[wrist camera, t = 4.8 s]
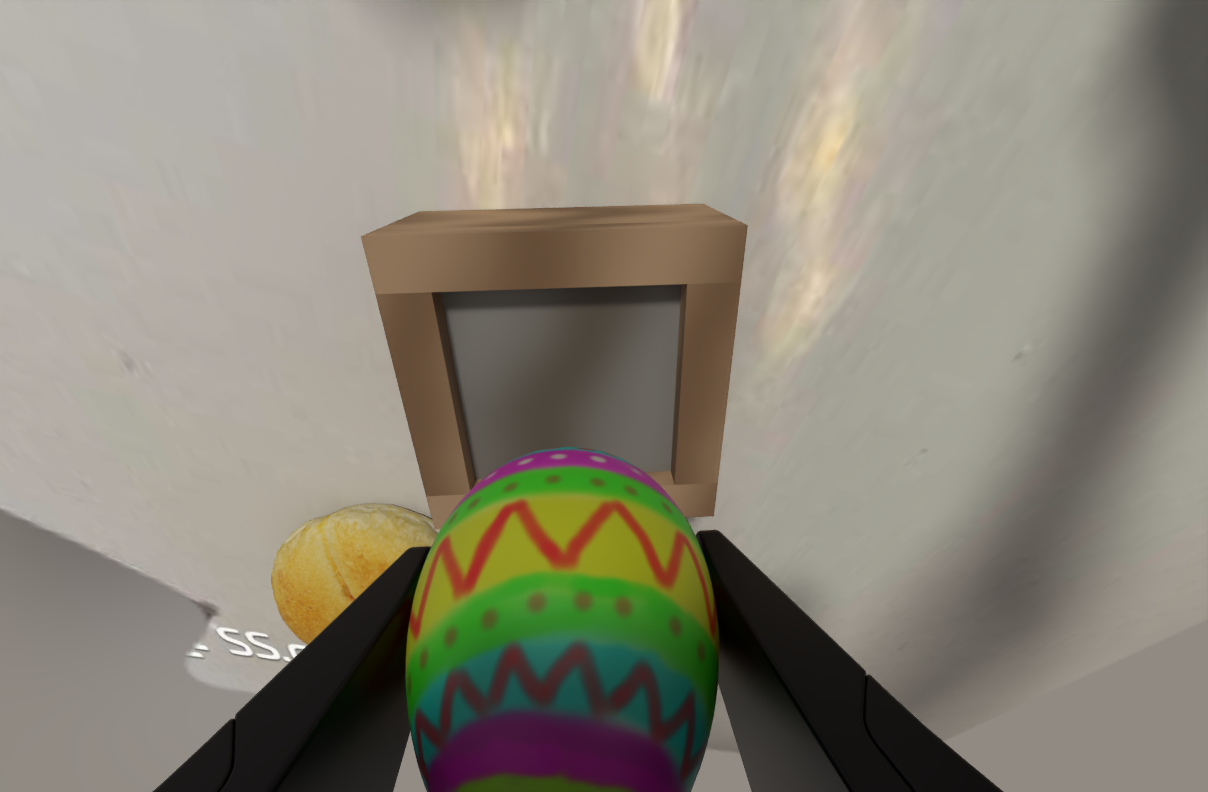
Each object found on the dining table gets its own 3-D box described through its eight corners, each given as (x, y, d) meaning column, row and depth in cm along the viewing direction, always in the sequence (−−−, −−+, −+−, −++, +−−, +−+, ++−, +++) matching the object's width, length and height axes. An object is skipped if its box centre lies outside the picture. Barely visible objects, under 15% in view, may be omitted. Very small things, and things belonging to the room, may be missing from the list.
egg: (461, 591, 11) (354, 1000, 6) (440, 407, 9) (233, 797, 4) (668, 591, 11) (748, 974, 6) (699, 414, 9) (866, 778, 4)
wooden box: (703, 204, 17) (747, 225, 12) (686, 439, 22) (714, 515, 17) (419, 211, 17) (360, 236, 12) (464, 449, 21) (434, 529, 17)
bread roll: (499, 588, 26) (487, 658, 22) (351, 625, 27) (316, 698, 23) (431, 473, 22) (403, 536, 19) (260, 521, 23) (203, 589, 19)
